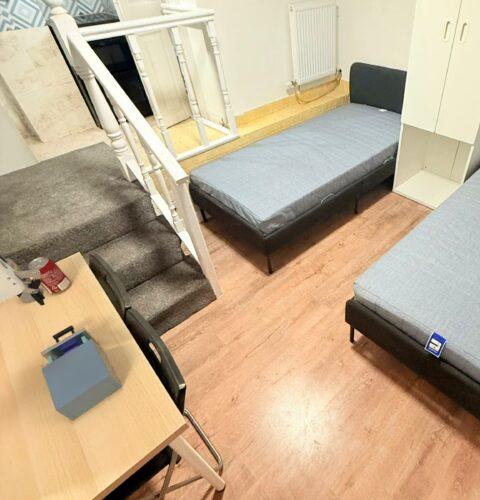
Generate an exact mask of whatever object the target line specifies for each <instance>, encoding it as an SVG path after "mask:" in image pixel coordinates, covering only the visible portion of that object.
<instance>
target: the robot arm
mask: <svg viewBox="0 0 480 500" xmlns="http://www.w3.org/2000/svg"><path fill="white" fill-rule="evenodd" d="M23 278H32V279H31V280H32V282H24V281H23ZM40 286H41V273H40V271H39V270H38V269H34V270H29V269H27V270H22V271H17V272H16V271H15V270H14V269H13V268H12V267H10V266H9V265H8V264H7V263H5V262H4V261H3V260H1V259H0V304H1V303H4V302H6V301H8V300H10V299H12V298H14V297H17V295H18V294H20V293H30V294H31V296H32V297H33V298H34V299H35V301H36V302H37V303H38V304H39V305H40V306H45V305H46V303H45V301H44V300H45V299H46V297H45V294H44V293H43V292H42V293H41V292H40V291H39V290H38V288H40Z"/></svg>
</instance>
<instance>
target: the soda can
mask: <svg viewBox="0 0 480 500" xmlns="http://www.w3.org/2000/svg"><path fill="white" fill-rule="evenodd" d="M27 268H28V270H34V269H38V270H39V271H40V273H41V284H40V286H41V287H43V289H45V291H47V293H49V294H50V295H57V294H60V293H62V292H64V291H66V290H67V289H68V288H69V287H70V285H71V280H70V278H69V277H68V276H67V275H66V274H65V273H64V271H63V270H61V268H60V267H59V265H57V263H56V262H55V260H53V259H50V258H48V257H47V256H40V257H36V258H34V259H33V260H31V261H30V262H29V263H28V265H27Z"/></svg>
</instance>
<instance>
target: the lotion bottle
mask: <svg viewBox="0 0 480 500" xmlns="http://www.w3.org/2000/svg"><path fill="white" fill-rule="evenodd" d="M0 259H1V260H3V261H4V262H5V263H7V264H8V265H9V266H10V267H12V268H13V269H14V270H15V271H16V272H17V271H23V270H22V269H21V267H20V266H19V265H18V264H16V262H15V261H13V260H12V259H11V258H5V257H4V256H3V255H2V254H1V253H0ZM23 281H24V282H32V279H31V277H29V278H23ZM38 290H39V291H40V292H41V293H42V294H43V290H42V288H41V287H39V288H38ZM16 297H18V298H19V299H20V300H21V301H23V302H24V303H33V302H35V301H36V300H35V299H34V298H33V297H32V296H31V294H30V293H20V294H18V295H16Z"/></svg>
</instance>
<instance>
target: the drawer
mask: <svg viewBox="0 0 480 500" xmlns="http://www.w3.org/2000/svg"><path fill="white" fill-rule="evenodd" d="M70 332H71V334H70V335H68V336H67V337H64V338H63V339H62V340H60V338H61V337H63V336H65V335H67V334H69V333H70ZM52 339H53V340H54V341H55V343H54V344H52V345H51V346H48V347H47V348H46V349H43V350H42V351H41V352H40V354H41V356H42V357H43V358H45V359H46V360H47V361H48V364H50V363H51V362H53V361H55V360H56V359H58V358H60V357H61V356H63V355H64V353H65V352H67V351H69V350H70V349H72V348H74V347H75V346H77V345H78V346H80V345H82V344H83V343H85V342H87V341H88V340H90V339H92V340H93V341H94V342H95V343H96V344H97V345H98V340H97V339H96V338H95V337H94V336H93V335H92V334H91V333H90V332H89V331H88V330H87V329H86V328H85V327H82V328H81V329H78V330H76V331H75V327H74V326H73V325H69V326H67V327H66V328H64V329H62V330H60V331H58V332H56V333H55V334H53V335H52Z"/></svg>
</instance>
